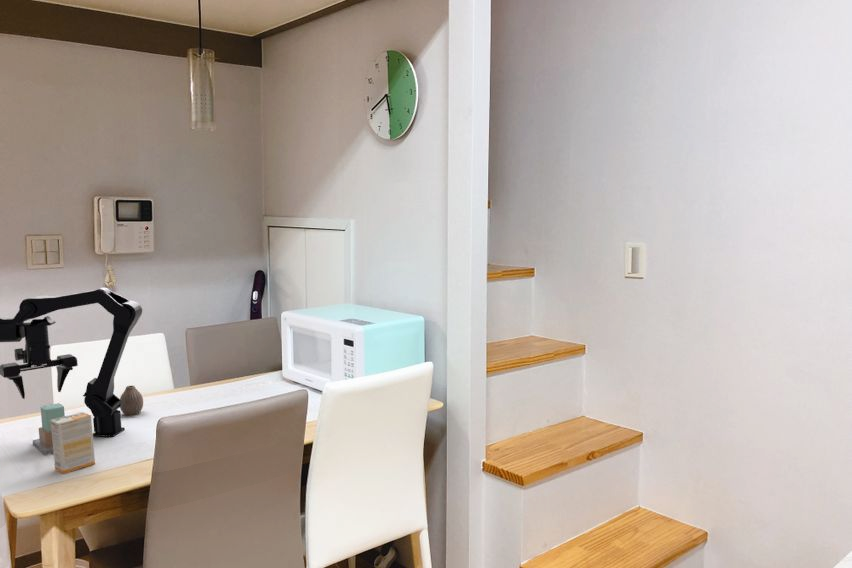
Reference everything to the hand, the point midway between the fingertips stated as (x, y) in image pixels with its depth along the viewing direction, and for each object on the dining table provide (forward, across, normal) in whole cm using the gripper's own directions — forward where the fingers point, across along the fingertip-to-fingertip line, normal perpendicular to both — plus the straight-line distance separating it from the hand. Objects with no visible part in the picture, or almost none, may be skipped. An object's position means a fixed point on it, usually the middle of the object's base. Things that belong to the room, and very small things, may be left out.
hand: (41, 395), depth 198 cm
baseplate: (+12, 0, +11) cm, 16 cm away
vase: (+12, -26, -4) cm, 29 cm away
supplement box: (+12, +1, +31) cm, 33 cm away
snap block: (+7, 0, +11) cm, 13 cm away
